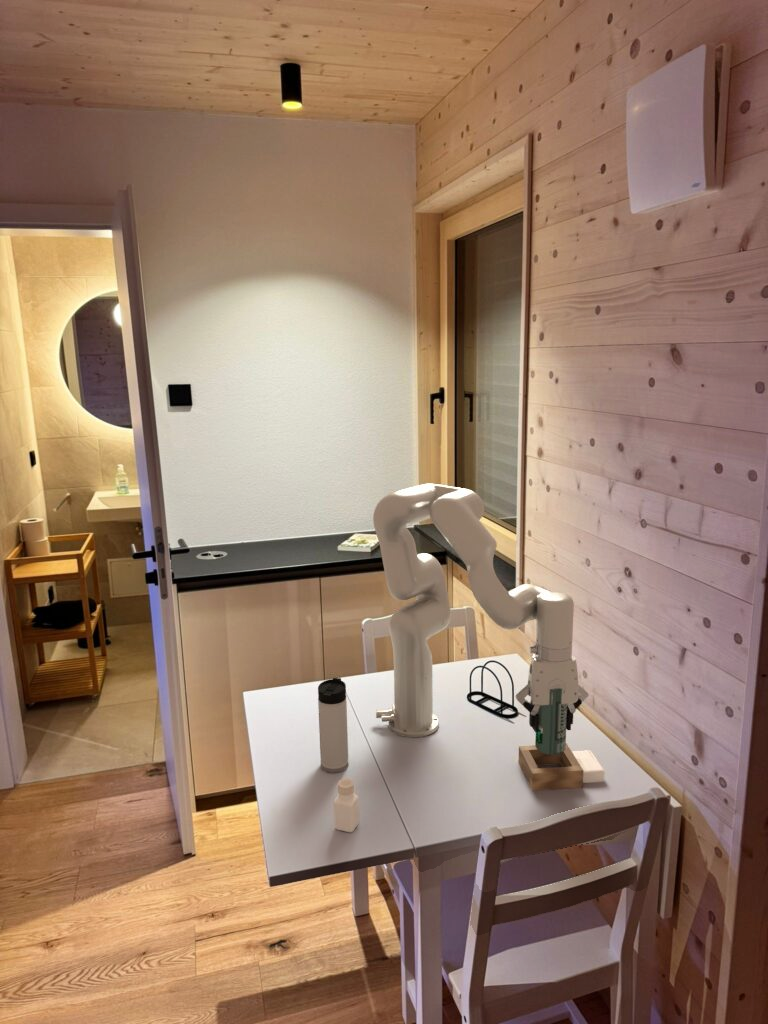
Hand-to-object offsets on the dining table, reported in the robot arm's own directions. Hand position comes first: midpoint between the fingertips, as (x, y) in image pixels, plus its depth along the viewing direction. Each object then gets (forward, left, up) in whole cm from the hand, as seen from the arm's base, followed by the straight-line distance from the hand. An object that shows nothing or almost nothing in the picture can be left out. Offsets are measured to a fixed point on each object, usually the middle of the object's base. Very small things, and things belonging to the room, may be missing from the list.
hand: (550, 727), depth 158 cm
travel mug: (-47, +9, -12) cm, 49 cm away
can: (0, 0, -5) cm, 5 cm away
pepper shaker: (-45, -13, -12) cm, 48 cm away
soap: (+8, 0, -12) cm, 14 cm away
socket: (0, 0, -11) cm, 11 cm away
